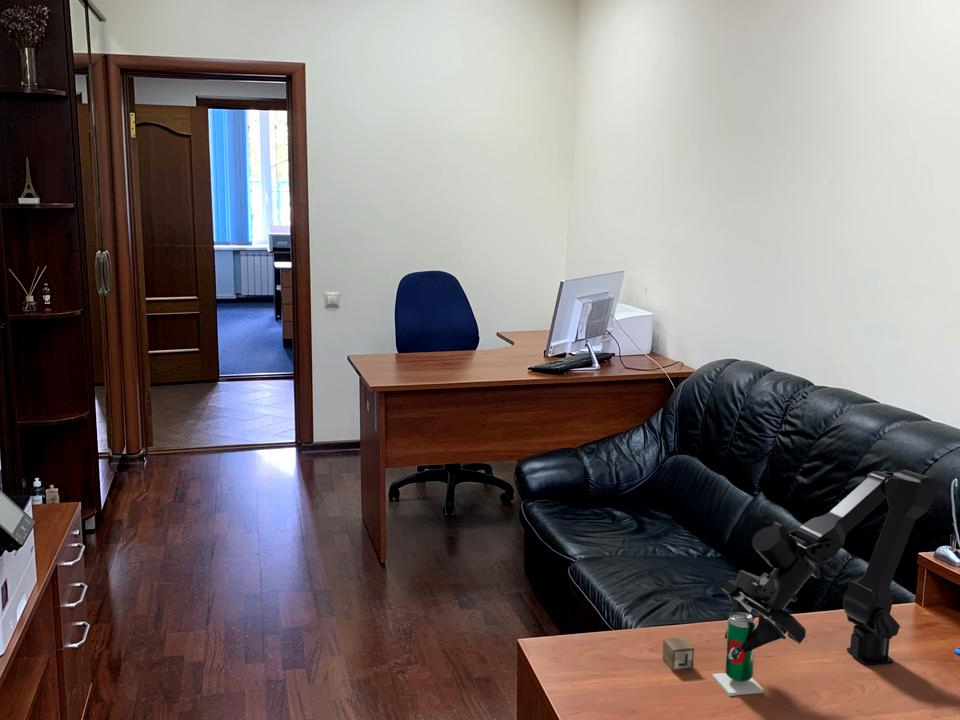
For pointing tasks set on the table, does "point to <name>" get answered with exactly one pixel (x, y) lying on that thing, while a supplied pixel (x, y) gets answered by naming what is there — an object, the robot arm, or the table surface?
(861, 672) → the table surface
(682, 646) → the letter cube
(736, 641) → the soda can
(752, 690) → the coaster
